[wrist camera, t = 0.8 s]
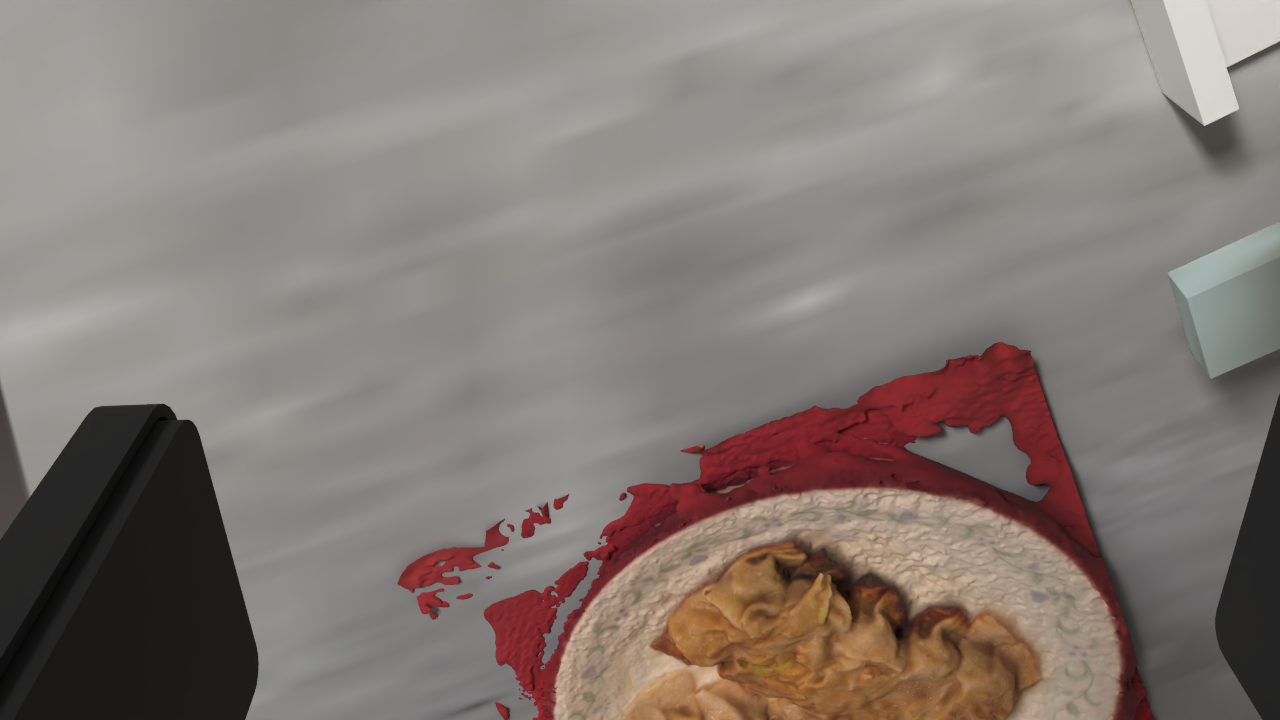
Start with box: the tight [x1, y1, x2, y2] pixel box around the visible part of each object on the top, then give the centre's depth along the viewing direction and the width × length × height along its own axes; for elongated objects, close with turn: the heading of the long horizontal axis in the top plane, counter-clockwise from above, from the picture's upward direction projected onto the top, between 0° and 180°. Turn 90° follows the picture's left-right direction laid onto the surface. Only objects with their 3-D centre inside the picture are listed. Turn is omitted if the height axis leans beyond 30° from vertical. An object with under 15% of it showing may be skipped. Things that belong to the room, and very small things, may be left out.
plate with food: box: [397, 342, 1154, 720], centre depth 48 cm, size 25×26×4 cm
